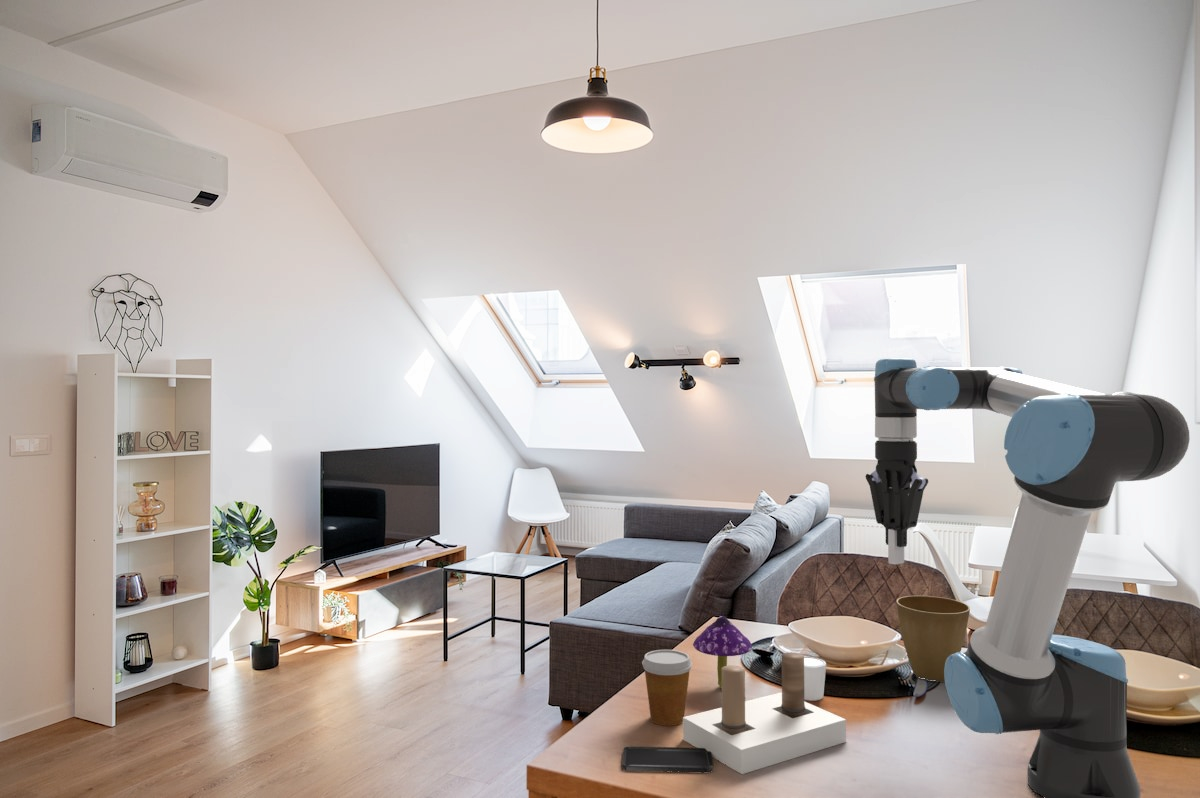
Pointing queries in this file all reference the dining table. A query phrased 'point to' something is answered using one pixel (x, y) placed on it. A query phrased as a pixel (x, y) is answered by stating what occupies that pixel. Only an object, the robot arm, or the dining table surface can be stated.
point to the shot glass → (814, 678)
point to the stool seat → (759, 728)
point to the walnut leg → (793, 685)
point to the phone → (667, 759)
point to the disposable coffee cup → (667, 685)
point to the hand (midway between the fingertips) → (896, 563)
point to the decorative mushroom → (722, 642)
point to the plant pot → (931, 632)
